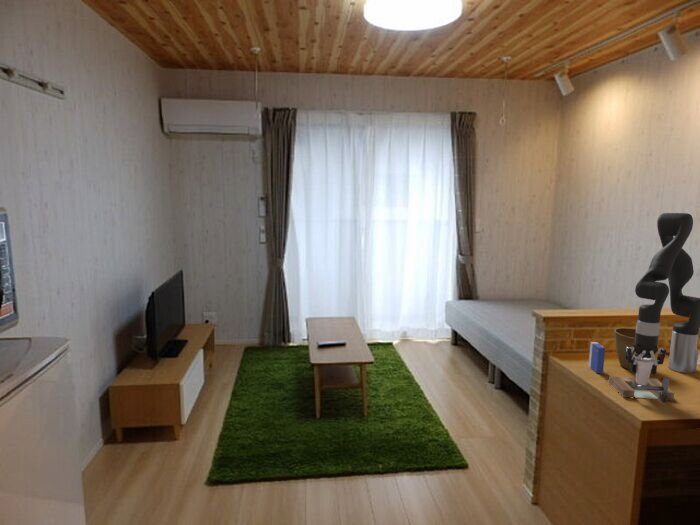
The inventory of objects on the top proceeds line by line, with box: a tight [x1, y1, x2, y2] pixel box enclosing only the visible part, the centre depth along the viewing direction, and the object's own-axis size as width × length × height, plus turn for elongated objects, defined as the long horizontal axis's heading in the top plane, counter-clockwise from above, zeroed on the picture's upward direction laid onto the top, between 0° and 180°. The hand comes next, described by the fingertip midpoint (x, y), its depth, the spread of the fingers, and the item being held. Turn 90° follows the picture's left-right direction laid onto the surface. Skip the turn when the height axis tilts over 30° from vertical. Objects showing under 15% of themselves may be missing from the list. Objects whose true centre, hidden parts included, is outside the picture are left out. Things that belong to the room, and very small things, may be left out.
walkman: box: [588, 341, 606, 374], centre depth 201 cm, size 8×3×12 cm, turn 176°
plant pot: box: [614, 327, 638, 370], centre depth 204 cm, size 15×15×16 cm
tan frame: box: [608, 375, 675, 401], centre depth 180 cm, size 18×13×3 cm
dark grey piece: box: [632, 377, 670, 403], centre depth 172 cm, size 13×2×9 cm, turn 82°
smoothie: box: [635, 358, 654, 385], centre depth 177 cm, size 6×6×14 cm
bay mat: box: [632, 388, 659, 400], centre depth 179 cm, size 9×9×1 cm
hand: (642, 373), depth 177 cm, fingers closed on smoothie, 6 cm apart
